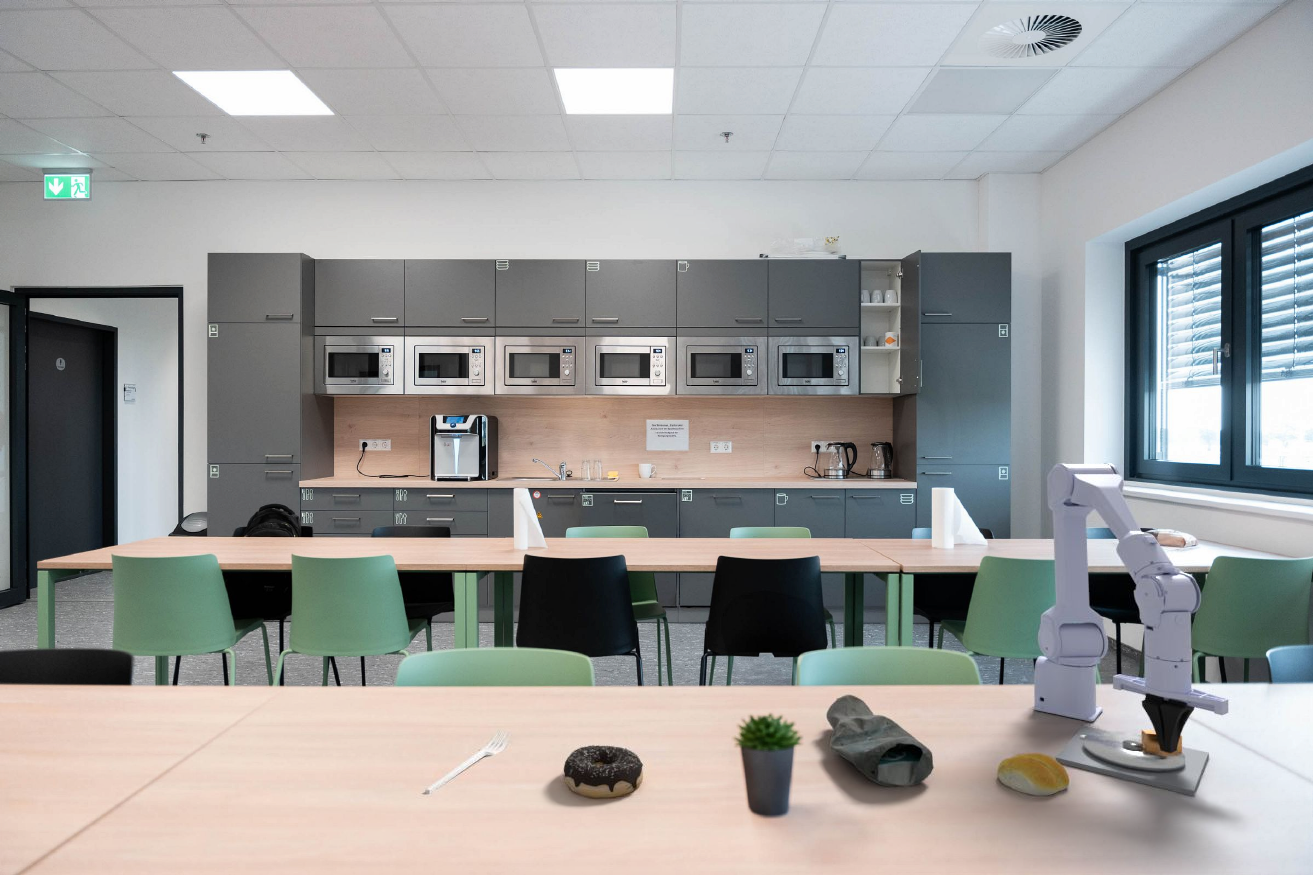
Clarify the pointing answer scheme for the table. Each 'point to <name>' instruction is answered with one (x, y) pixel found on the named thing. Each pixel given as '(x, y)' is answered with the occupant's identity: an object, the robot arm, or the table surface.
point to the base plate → (1173, 780)
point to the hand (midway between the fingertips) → (1168, 750)
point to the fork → (472, 760)
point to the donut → (603, 771)
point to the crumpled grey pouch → (877, 744)
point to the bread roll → (1033, 774)
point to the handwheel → (1134, 750)
